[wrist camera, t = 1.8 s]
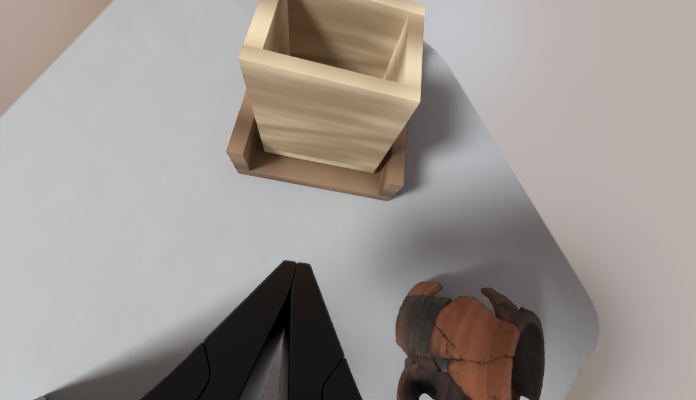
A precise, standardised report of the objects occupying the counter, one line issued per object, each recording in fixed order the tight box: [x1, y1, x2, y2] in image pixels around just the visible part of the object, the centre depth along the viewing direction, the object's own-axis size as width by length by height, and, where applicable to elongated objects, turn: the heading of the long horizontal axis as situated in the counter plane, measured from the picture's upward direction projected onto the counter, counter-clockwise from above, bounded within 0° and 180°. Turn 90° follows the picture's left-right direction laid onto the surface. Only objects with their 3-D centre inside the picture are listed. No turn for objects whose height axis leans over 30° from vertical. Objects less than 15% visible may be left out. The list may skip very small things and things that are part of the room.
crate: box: [238, 0, 425, 173], centre depth 20 cm, size 8×10×10 cm
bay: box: [226, 90, 408, 201], centre depth 24 cm, size 18×14×6 cm
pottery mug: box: [396, 282, 545, 400], centre depth 19 cm, size 12×10×8 cm
